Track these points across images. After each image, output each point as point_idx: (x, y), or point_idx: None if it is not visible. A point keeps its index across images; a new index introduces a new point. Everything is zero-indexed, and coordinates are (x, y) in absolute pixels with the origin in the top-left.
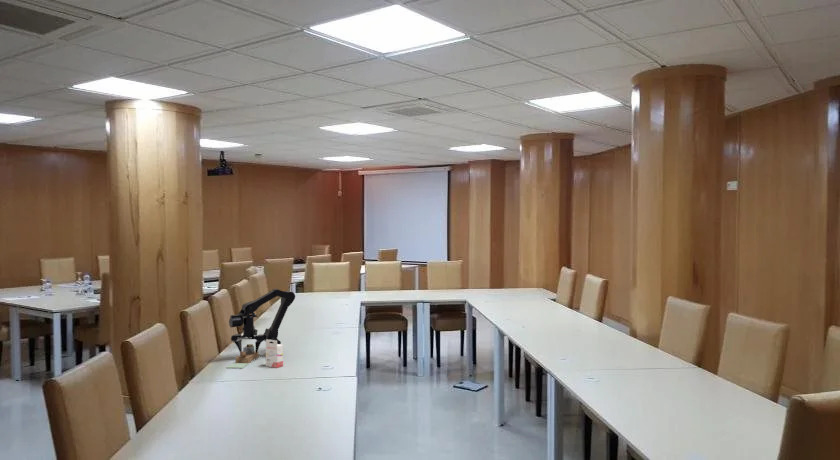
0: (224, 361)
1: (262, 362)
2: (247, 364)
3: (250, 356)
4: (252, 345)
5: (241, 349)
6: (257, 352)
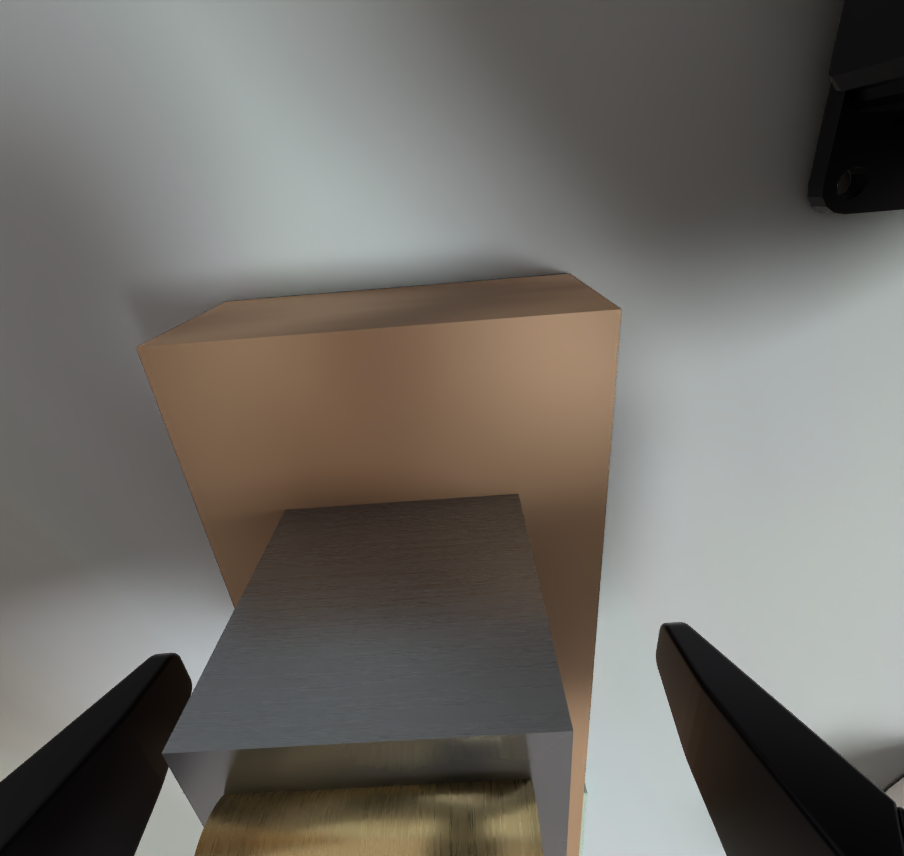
0: (70, 692)
1: (781, 670)
2: (584, 814)
3: (583, 792)
4: (535, 847)
5: (125, 745)
6: (608, 408)
